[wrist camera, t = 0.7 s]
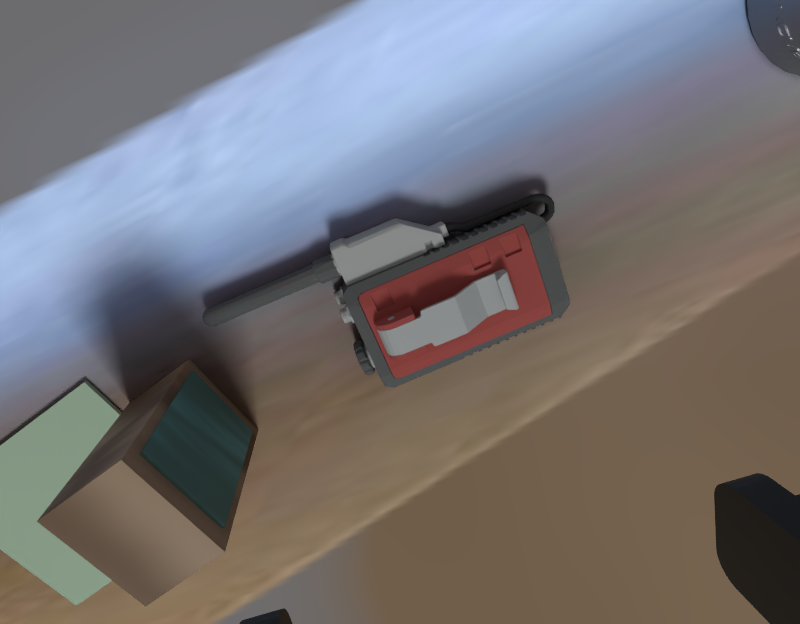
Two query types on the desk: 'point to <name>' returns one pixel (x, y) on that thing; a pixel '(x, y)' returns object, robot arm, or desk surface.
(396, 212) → the desk surface
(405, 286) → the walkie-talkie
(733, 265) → the desk surface
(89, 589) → the mat
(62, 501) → the brown teal box
